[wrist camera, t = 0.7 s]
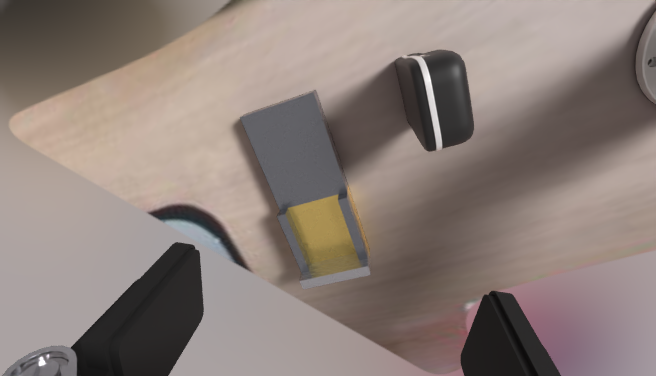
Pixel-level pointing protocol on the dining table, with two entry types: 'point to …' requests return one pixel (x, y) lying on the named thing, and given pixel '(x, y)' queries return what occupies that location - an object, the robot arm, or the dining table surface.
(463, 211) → the dining table surface
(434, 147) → the battery charger
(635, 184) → the dining table surface
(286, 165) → the grey and yellow block
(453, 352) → the dining table surface
